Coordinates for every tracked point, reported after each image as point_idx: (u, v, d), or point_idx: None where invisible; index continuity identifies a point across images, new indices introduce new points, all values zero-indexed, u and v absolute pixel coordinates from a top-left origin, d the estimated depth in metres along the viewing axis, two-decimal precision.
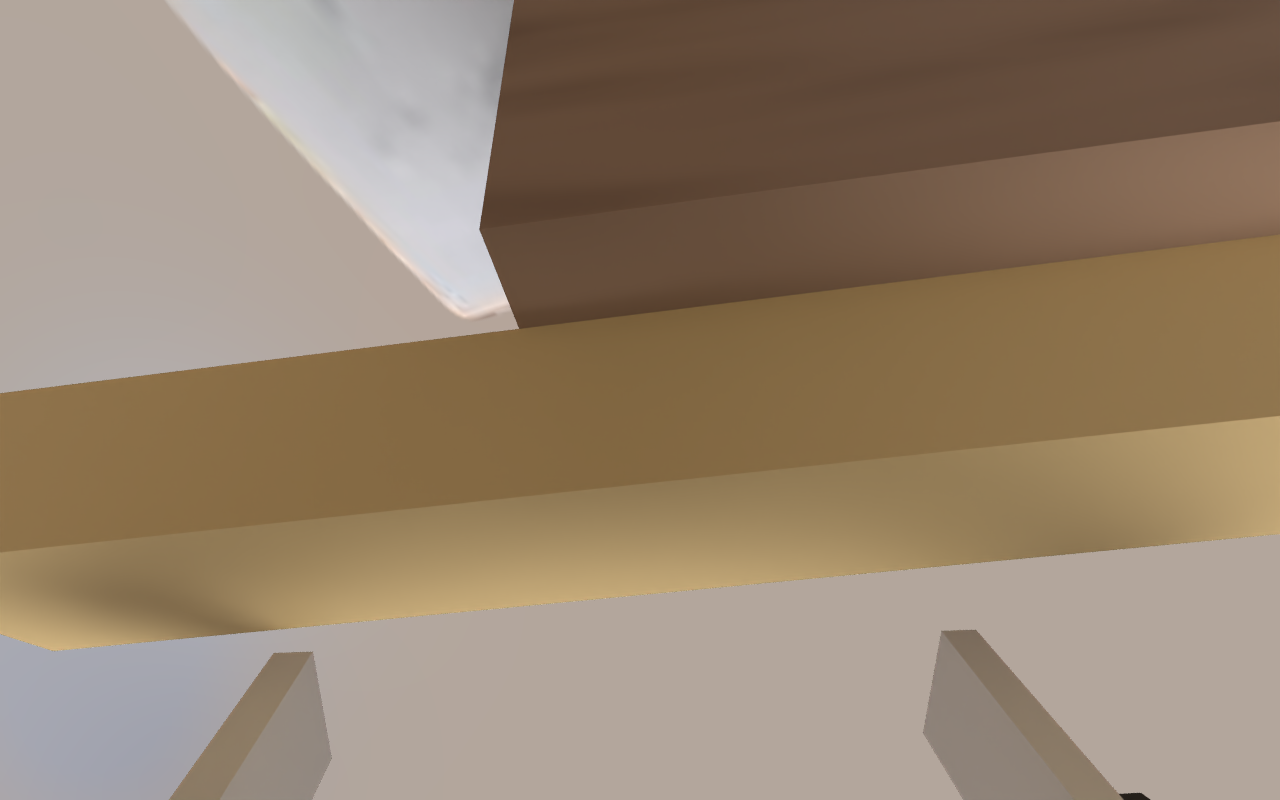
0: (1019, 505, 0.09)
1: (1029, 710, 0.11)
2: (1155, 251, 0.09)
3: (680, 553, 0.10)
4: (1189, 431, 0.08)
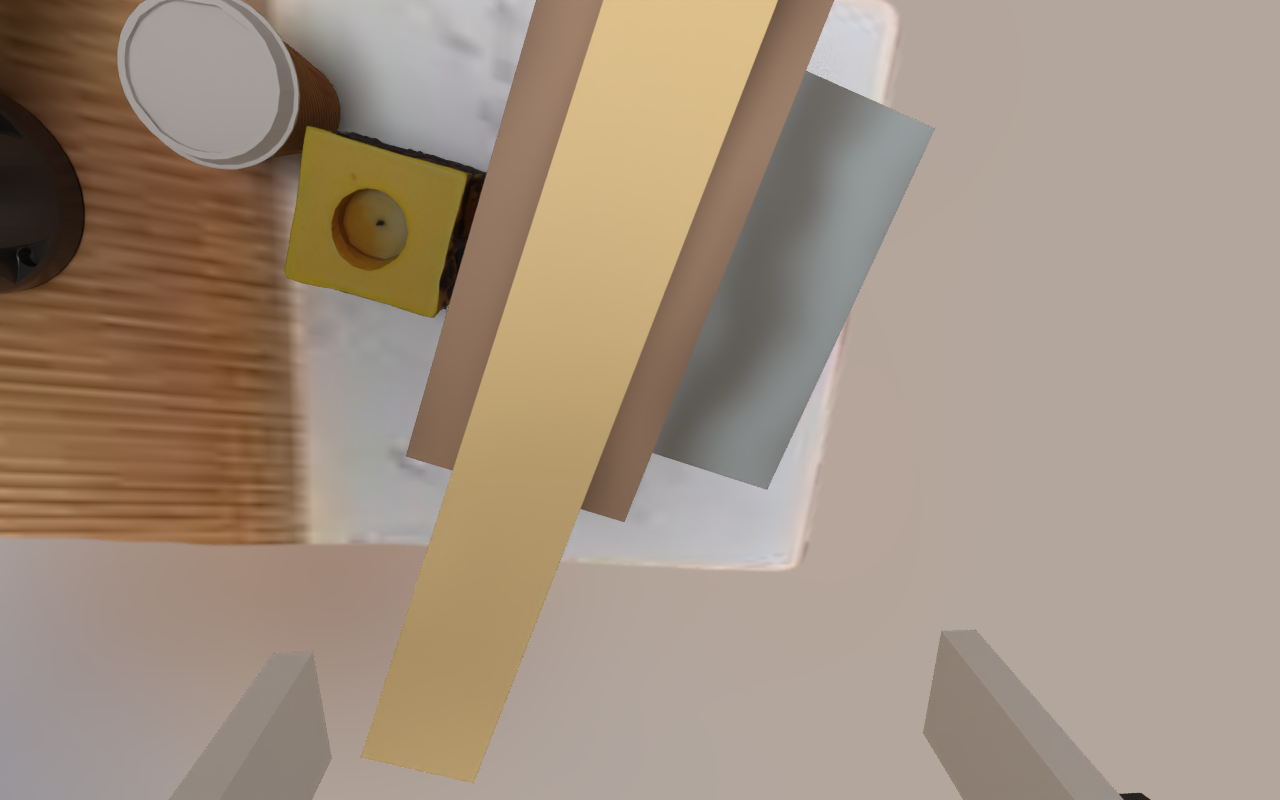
0: (573, 313, 0.18)
1: (1029, 710, 0.11)
2: None
3: (535, 474, 0.19)
4: (532, 242, 0.17)
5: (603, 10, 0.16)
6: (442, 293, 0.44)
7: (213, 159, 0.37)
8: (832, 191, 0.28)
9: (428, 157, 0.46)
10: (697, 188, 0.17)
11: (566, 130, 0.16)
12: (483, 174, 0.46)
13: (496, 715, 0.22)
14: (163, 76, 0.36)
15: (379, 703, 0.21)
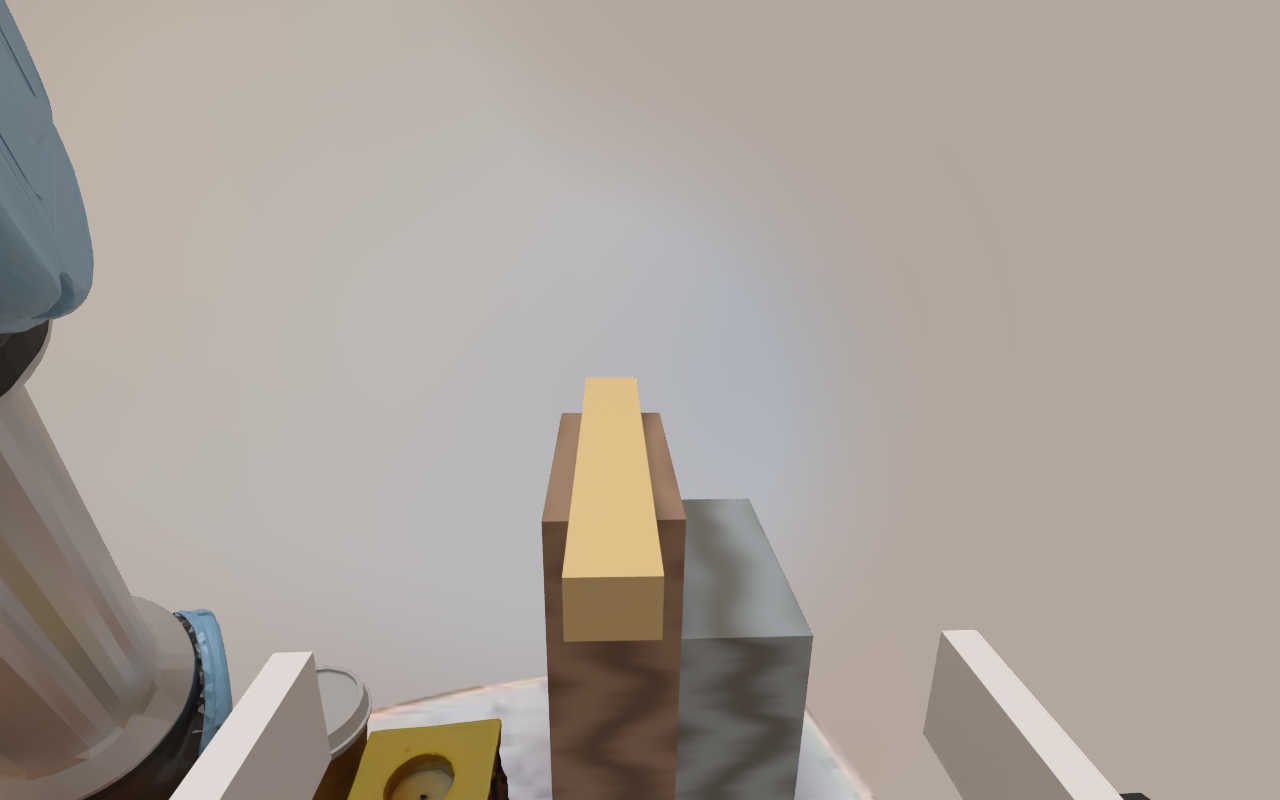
0: (609, 424, 0.41)
1: (1029, 710, 0.11)
2: None
3: (617, 455, 0.36)
4: (584, 417, 0.42)
5: (585, 390, 0.48)
6: None
7: None
8: (721, 521, 0.52)
9: None
10: (636, 403, 0.45)
11: (584, 403, 0.45)
12: None
13: (655, 535, 0.28)
14: None
15: (567, 543, 0.27)
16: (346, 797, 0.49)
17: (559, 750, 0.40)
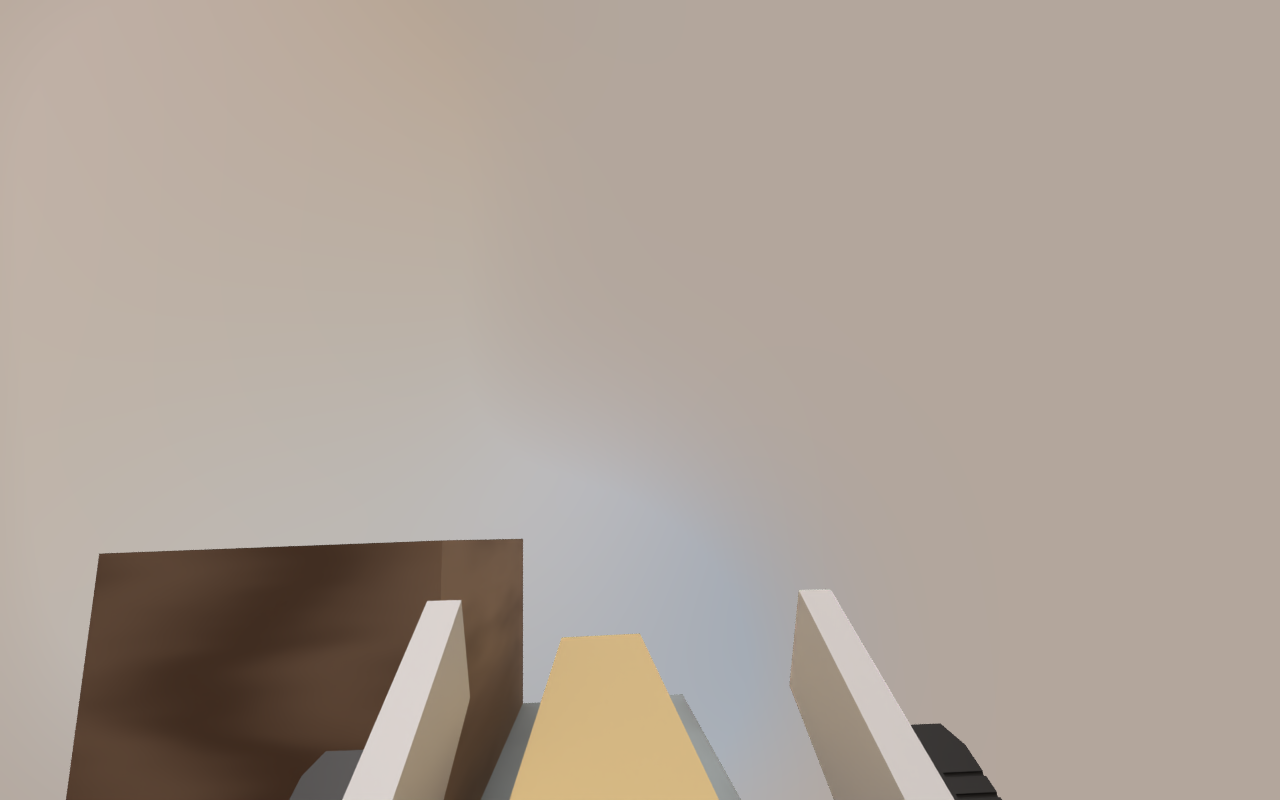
0: (599, 683, 0.22)
1: (853, 654, 0.13)
2: None
3: (619, 723, 0.17)
4: (553, 677, 0.23)
5: (559, 649, 0.29)
6: None
7: None
8: None
9: None
10: (646, 656, 0.26)
11: (556, 661, 0.26)
12: None
13: None
14: None
15: None
16: None
17: None
